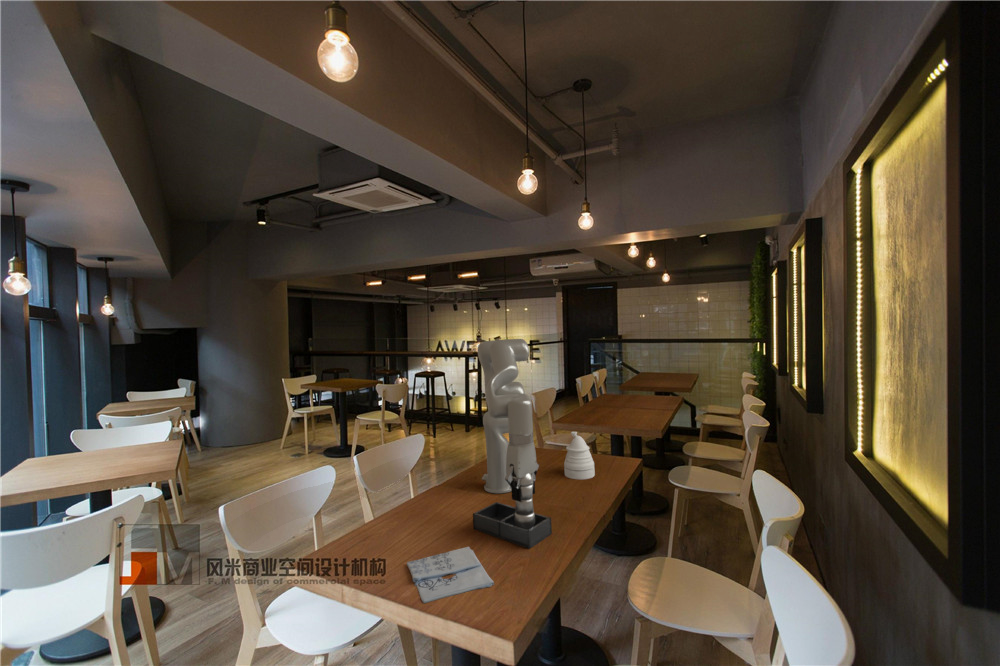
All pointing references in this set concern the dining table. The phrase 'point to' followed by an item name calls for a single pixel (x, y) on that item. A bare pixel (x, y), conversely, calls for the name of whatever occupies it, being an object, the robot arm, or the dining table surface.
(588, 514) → the dining table surface
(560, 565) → the dining table surface
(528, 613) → the dining table surface
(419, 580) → the folded bicycle print cloth
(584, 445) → the honey pot
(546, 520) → the divided tray
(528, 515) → the grey stacked bottle
